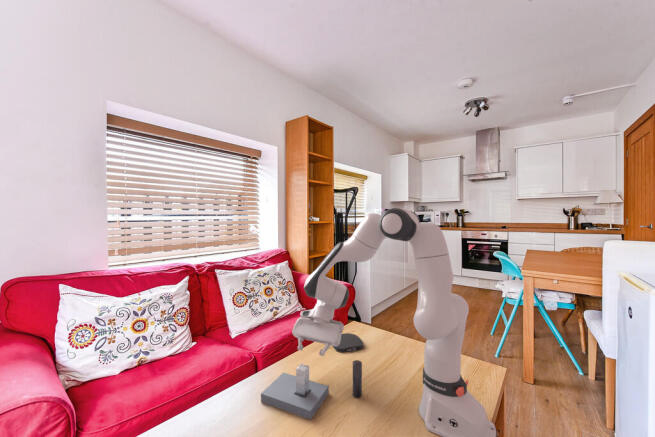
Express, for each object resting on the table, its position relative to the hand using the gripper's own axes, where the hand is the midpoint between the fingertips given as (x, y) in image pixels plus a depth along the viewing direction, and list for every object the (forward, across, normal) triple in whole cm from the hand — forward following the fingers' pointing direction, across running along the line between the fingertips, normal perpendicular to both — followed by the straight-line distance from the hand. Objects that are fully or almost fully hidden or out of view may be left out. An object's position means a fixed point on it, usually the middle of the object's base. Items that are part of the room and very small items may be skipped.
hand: (310, 352), depth 104 cm
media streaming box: (-17, 0, -37) cm, 40 cm away
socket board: (+15, +2, -5) cm, 16 cm away
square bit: (+15, -1, -5) cm, 16 cm away
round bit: (+7, -18, -12) cm, 23 cm away
